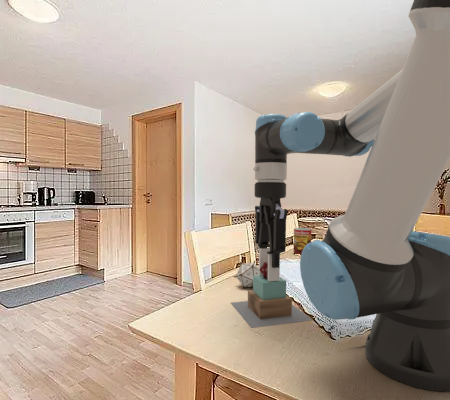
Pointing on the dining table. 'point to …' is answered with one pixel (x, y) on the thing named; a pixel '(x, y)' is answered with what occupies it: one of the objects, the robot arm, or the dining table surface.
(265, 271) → the dice
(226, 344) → the dining table surface
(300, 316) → the mat
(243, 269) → the game die
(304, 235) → the canned food
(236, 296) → the dining table surface
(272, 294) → the mid block
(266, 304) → the base block
